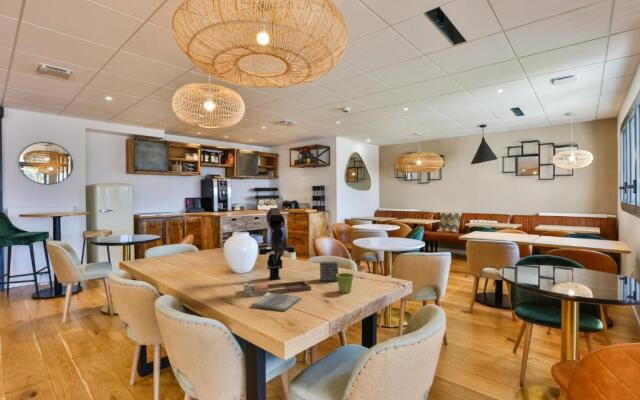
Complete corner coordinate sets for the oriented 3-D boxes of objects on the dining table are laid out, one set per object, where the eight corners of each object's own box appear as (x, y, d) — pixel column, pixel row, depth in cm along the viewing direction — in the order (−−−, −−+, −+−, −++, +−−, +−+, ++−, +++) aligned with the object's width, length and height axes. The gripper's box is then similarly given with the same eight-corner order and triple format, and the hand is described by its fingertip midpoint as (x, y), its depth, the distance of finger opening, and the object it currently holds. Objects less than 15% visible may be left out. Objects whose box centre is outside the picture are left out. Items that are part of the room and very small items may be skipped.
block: (252, 292, 168) (252, 284, 168) (265, 290, 170) (265, 283, 170) (254, 296, 161) (254, 288, 161) (268, 294, 164) (268, 286, 164)
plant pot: (356, 290, 169) (356, 273, 168) (350, 295, 160) (350, 278, 160) (340, 288, 172) (339, 272, 172) (333, 293, 164) (333, 276, 164)
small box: (338, 279, 192) (338, 261, 192) (338, 281, 185) (337, 264, 185) (321, 278, 193) (320, 261, 193) (320, 281, 186) (319, 263, 186)
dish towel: (285, 313, 138) (285, 306, 138) (250, 308, 144) (249, 301, 144) (302, 300, 155) (302, 293, 155) (270, 296, 162) (270, 290, 162)
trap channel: (243, 290, 170) (243, 283, 170) (304, 284, 181) (304, 277, 181) (246, 297, 159) (246, 289, 159) (311, 290, 170) (310, 282, 170)
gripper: (260, 240, 160) (261, 271, 161) (296, 238, 166) (297, 268, 166) (258, 237, 171) (258, 266, 171) (292, 235, 177) (292, 263, 177)
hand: (276, 266), depth 171 cm, fingers closed
